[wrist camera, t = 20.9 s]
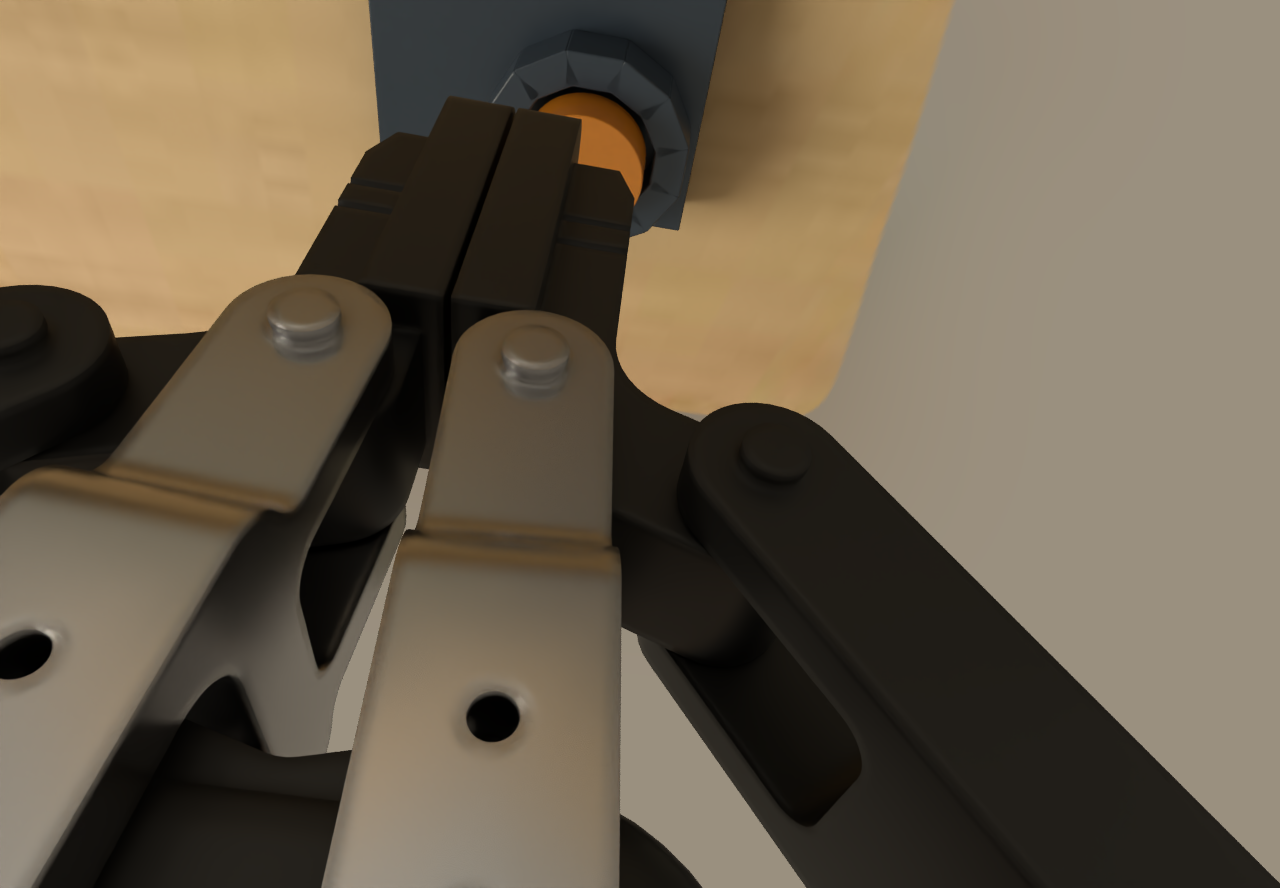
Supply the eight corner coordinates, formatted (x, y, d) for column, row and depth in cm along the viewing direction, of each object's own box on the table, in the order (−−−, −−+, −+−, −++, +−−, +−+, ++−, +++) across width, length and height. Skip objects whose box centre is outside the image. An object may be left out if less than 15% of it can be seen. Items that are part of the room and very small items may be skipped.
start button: (522, 194, 32) (514, 220, 31) (528, 81, 29) (520, 104, 28) (636, 214, 32) (633, 239, 31) (655, 103, 29) (651, 127, 28)
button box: (398, 157, 35) (369, 207, 33) (379, -125, 28) (341, -89, 25) (680, 205, 36) (676, 259, 33) (734, -57, 29) (734, -16, 26)
